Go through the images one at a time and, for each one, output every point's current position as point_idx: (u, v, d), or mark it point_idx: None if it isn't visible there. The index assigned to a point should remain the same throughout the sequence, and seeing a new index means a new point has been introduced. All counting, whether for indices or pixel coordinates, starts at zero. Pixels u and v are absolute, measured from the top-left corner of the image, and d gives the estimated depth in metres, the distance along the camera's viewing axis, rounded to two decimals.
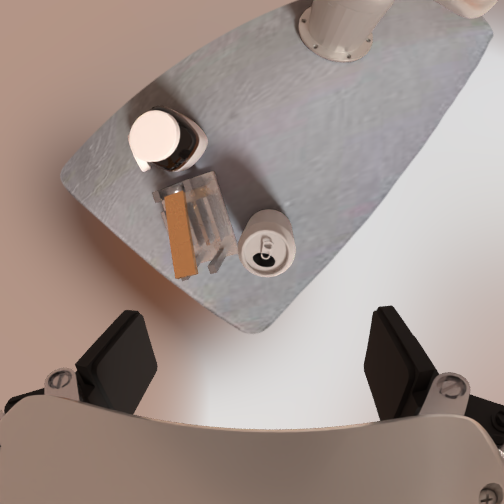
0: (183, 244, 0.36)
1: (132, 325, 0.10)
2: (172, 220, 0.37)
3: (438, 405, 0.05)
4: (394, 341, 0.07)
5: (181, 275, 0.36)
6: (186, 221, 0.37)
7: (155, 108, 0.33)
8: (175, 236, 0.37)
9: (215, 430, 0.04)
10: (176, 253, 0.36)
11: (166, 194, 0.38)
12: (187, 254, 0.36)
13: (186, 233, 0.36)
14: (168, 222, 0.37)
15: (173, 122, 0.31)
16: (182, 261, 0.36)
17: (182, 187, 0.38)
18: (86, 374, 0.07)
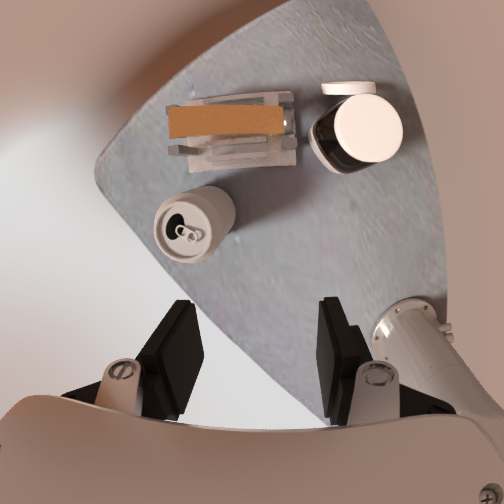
0: (212, 123, 0.24)
1: (187, 313, 0.10)
2: (248, 112, 0.25)
3: (369, 395, 0.06)
4: (329, 328, 0.09)
5: (171, 116, 0.23)
6: (243, 133, 0.26)
7: None
8: (226, 113, 0.24)
9: (215, 430, 0.04)
10: (202, 112, 0.24)
11: (285, 110, 0.26)
12: (198, 128, 0.24)
13: (226, 130, 0.25)
14: (247, 106, 0.25)
15: (378, 161, 0.23)
16: (189, 119, 0.23)
17: (288, 133, 0.27)
18: (151, 363, 0.08)
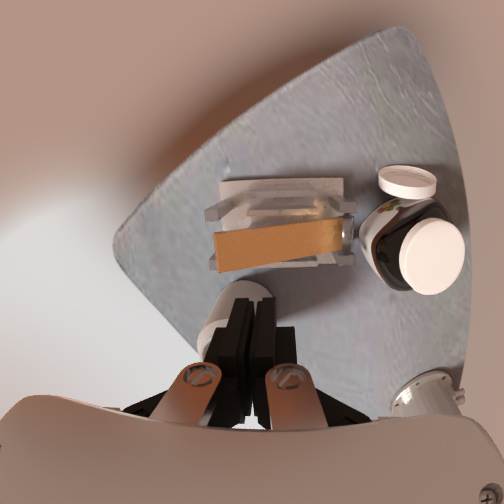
0: (267, 250, 0.22)
1: None
2: (307, 232, 0.23)
3: (285, 400, 0.06)
4: (254, 328, 0.09)
5: (219, 246, 0.21)
6: (300, 257, 0.24)
7: None
8: (283, 236, 0.23)
9: (215, 430, 0.04)
10: (256, 238, 0.22)
11: (345, 223, 0.25)
12: (251, 258, 0.22)
13: (283, 256, 0.23)
14: (306, 223, 0.23)
15: (435, 293, 0.21)
16: (241, 248, 0.22)
17: (345, 248, 0.26)
18: (230, 365, 0.08)
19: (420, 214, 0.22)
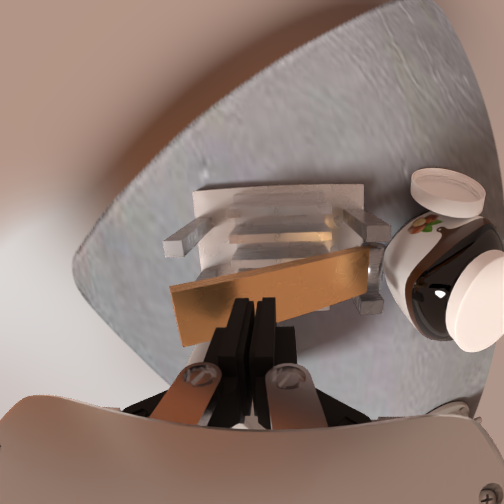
0: None
1: None
2: (320, 274, 0.15)
3: (285, 400, 0.06)
4: (254, 328, 0.09)
5: (179, 310, 0.12)
6: (308, 312, 0.15)
7: None
8: (282, 286, 0.14)
9: (215, 430, 0.04)
10: (240, 292, 0.13)
11: (373, 256, 0.16)
12: None
13: (282, 315, 0.15)
14: (318, 262, 0.15)
15: (483, 348, 0.13)
16: (215, 310, 0.13)
17: (371, 290, 0.17)
18: (230, 365, 0.08)
19: (475, 242, 0.14)
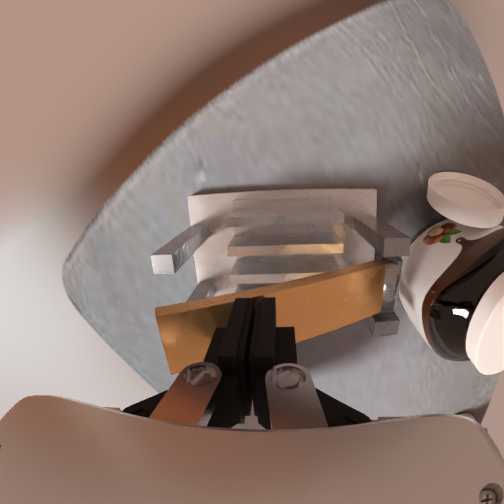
0: None
1: None
2: (329, 294, 0.13)
3: (285, 400, 0.06)
4: (254, 328, 0.09)
5: (165, 335, 0.10)
6: (314, 336, 0.13)
7: None
8: (286, 309, 0.12)
9: (215, 430, 0.04)
10: None
11: (389, 272, 0.14)
12: None
13: None
14: (328, 281, 0.13)
15: (501, 369, 0.11)
16: (207, 336, 0.11)
17: (385, 309, 0.15)
18: (230, 365, 0.08)
19: (499, 256, 0.11)
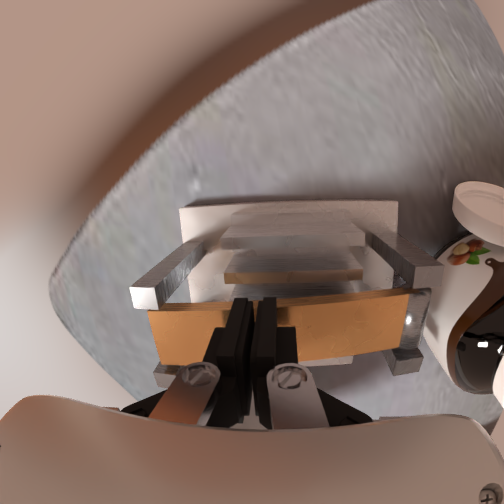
0: None
1: None
2: (329, 320, 0.12)
3: (286, 400, 0.06)
4: (255, 328, 0.09)
5: (155, 329, 0.12)
6: (310, 360, 0.12)
7: None
8: None
9: (215, 430, 0.04)
10: (220, 325, 0.12)
11: (412, 304, 0.11)
12: None
13: None
14: (327, 306, 0.11)
15: None
16: (193, 337, 0.12)
17: (405, 345, 0.12)
18: (228, 365, 0.08)
19: None
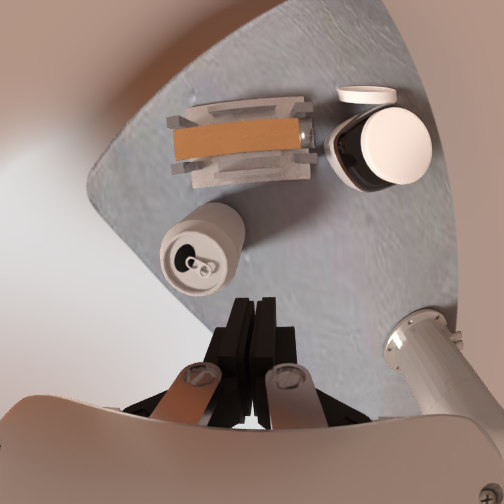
0: (217, 143, 0.24)
1: None
2: (257, 128, 0.24)
3: (285, 400, 0.06)
4: (254, 328, 0.09)
5: (175, 139, 0.24)
6: (251, 151, 0.25)
7: None
8: (232, 131, 0.24)
9: (215, 430, 0.04)
10: (207, 132, 0.24)
11: (300, 122, 0.24)
12: (203, 149, 0.24)
13: (233, 149, 0.25)
14: (255, 121, 0.24)
15: (406, 182, 0.21)
16: (193, 140, 0.24)
17: (305, 148, 0.25)
18: (229, 365, 0.08)
19: (379, 109, 0.21)
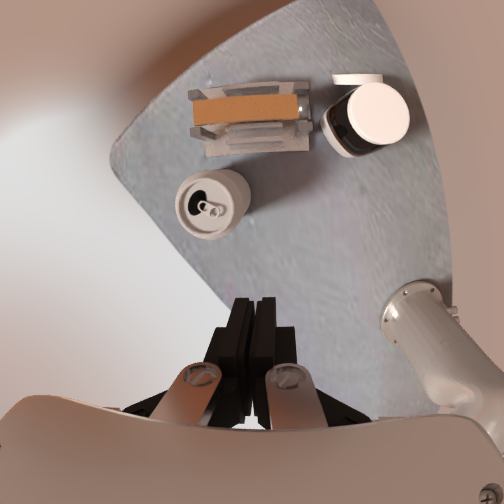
0: (229, 112, 0.28)
1: None
2: (262, 101, 0.28)
3: (285, 400, 0.06)
4: (254, 328, 0.09)
5: (194, 108, 0.28)
6: (257, 119, 0.29)
7: None
8: (241, 103, 0.28)
9: (215, 430, 0.04)
10: (221, 103, 0.28)
11: (298, 97, 0.28)
12: (217, 116, 0.29)
13: (242, 117, 0.29)
14: (261, 95, 0.28)
15: (387, 142, 0.24)
16: (209, 110, 0.28)
17: (302, 118, 0.29)
18: (230, 365, 0.08)
19: None
